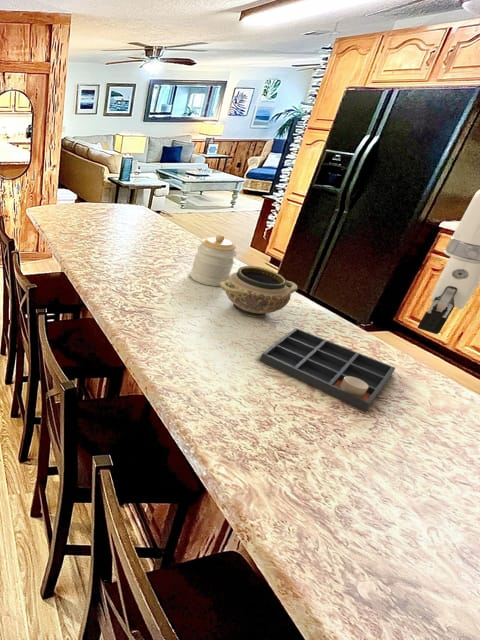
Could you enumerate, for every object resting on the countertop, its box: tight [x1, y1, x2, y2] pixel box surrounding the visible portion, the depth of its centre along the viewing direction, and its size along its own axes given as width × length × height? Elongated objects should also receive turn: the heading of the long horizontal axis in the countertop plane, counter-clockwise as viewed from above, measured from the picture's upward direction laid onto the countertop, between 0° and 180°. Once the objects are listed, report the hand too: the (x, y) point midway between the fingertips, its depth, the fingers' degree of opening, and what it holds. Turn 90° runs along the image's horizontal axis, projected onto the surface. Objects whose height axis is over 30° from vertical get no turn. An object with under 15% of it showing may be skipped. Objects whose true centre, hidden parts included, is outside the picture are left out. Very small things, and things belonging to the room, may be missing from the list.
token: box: [339, 376, 368, 398], centre depth 90 cm, size 4×4×3 cm
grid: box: [259, 327, 396, 413], centre depth 99 cm, size 22×22×2 cm
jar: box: [190, 234, 237, 287], centre depth 143 cm, size 13×13×18 cm
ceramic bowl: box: [219, 265, 298, 318], centre depth 123 cm, size 24×18×15 cm
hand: (432, 323), depth 84 cm, fingers open, 9 cm apart
